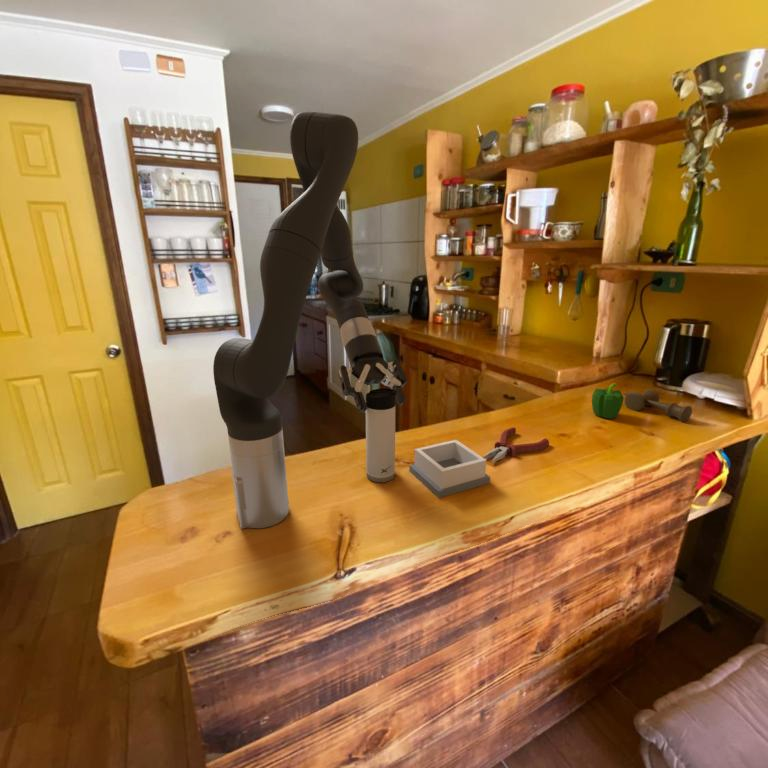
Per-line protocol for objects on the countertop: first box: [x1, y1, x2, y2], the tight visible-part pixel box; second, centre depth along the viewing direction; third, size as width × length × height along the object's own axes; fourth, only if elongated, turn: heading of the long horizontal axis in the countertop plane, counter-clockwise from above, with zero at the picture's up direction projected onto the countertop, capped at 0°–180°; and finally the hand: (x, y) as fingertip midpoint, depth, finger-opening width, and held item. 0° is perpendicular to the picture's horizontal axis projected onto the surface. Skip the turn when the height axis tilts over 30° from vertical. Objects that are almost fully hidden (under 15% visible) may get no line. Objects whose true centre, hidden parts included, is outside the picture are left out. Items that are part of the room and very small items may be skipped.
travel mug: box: [365, 387, 397, 483], centre depth 89 cm, size 6×7×20 cm
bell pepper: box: [591, 382, 625, 420], centre depth 124 cm, size 8×8×10 cm
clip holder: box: [408, 439, 491, 499], centre depth 90 cm, size 13×12×6 cm
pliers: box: [482, 426, 550, 464], centre depth 103 cm, size 12×20×3 cm, turn 132°
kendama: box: [622, 389, 693, 423], centre depth 128 cm, size 6×10×20 cm
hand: (383, 407), depth 86 cm, fingers open, 8 cm apart
